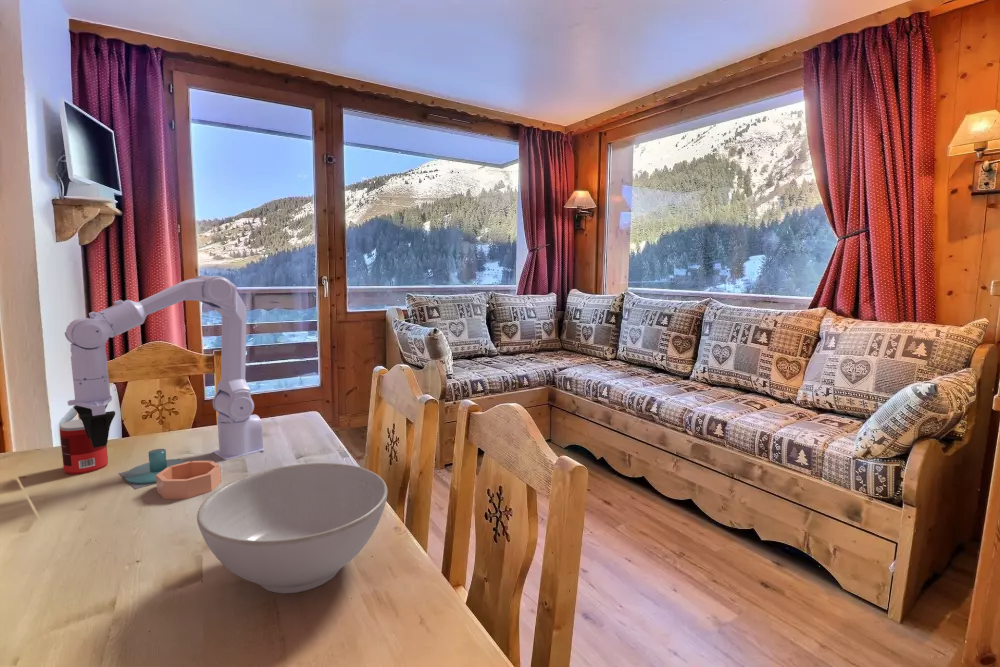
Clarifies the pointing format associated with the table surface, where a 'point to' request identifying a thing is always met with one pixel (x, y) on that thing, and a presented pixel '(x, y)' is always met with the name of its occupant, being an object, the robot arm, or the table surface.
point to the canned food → (80, 450)
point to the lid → (151, 468)
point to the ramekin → (188, 479)
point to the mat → (136, 484)
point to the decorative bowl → (293, 523)
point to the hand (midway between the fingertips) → (97, 441)
